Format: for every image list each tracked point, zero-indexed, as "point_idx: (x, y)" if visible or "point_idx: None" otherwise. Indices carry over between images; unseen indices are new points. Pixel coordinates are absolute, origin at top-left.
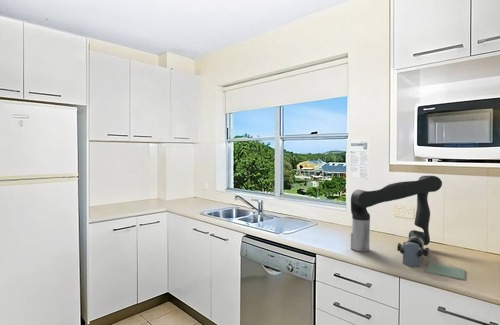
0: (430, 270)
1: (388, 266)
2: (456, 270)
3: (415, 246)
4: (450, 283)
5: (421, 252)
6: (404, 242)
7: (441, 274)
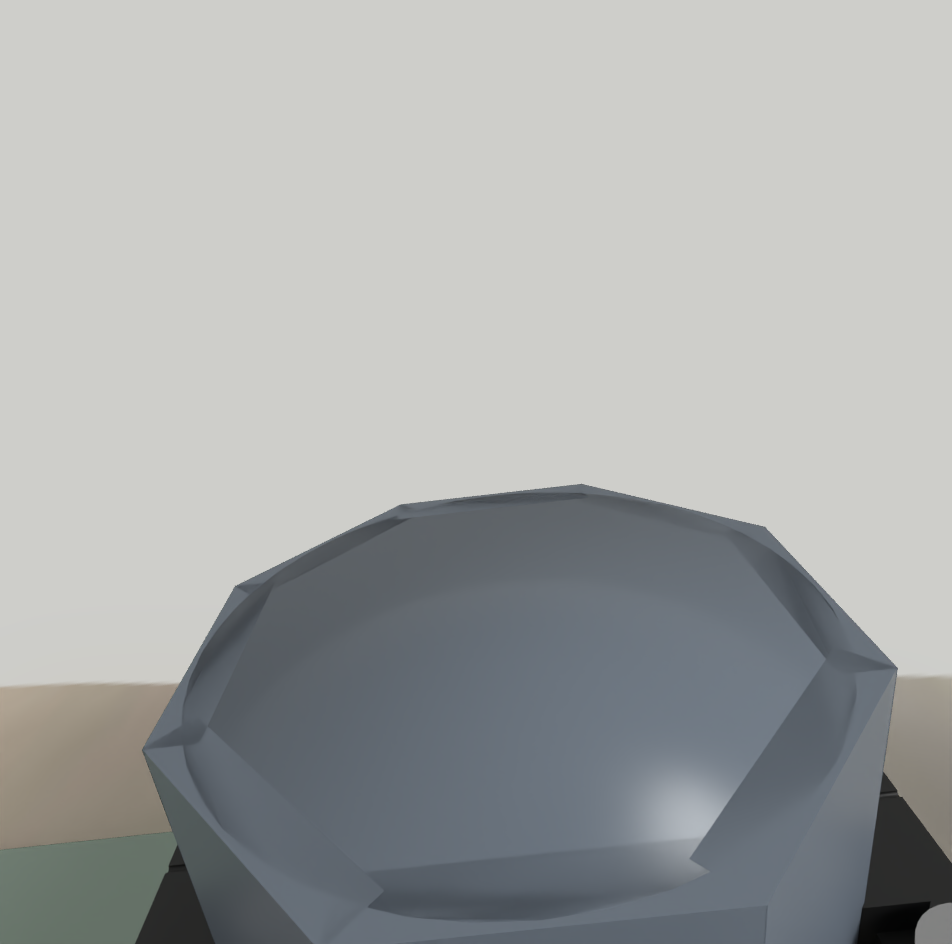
0: (144, 902)
1: None
2: None
3: (341, 549)
4: (29, 708)
5: (172, 892)
6: (812, 615)
7: (5, 854)
